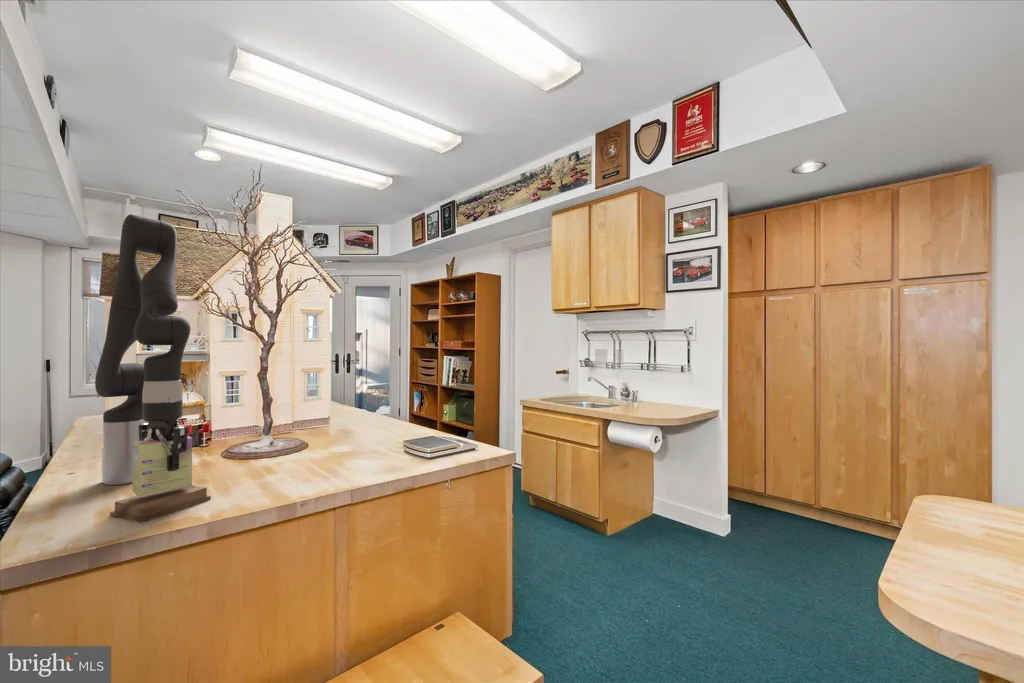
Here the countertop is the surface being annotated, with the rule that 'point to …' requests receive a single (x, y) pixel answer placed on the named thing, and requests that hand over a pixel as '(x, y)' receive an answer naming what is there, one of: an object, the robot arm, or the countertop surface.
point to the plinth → (159, 503)
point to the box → (159, 468)
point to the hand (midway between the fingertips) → (162, 468)
